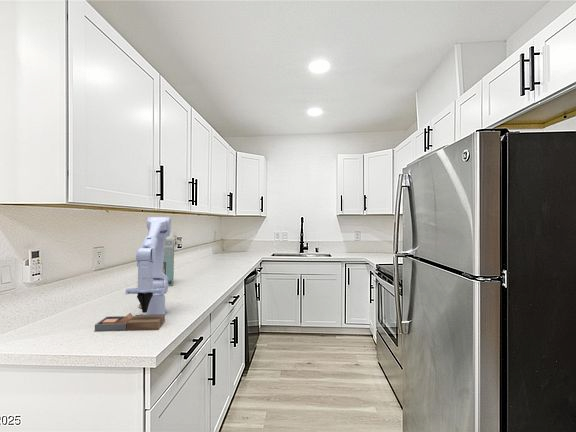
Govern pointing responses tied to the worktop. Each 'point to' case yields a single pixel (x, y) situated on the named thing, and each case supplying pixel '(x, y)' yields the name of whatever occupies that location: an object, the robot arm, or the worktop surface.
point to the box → (111, 325)
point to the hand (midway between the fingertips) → (144, 311)
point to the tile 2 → (125, 319)
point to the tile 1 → (110, 321)
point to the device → (168, 261)
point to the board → (146, 322)
